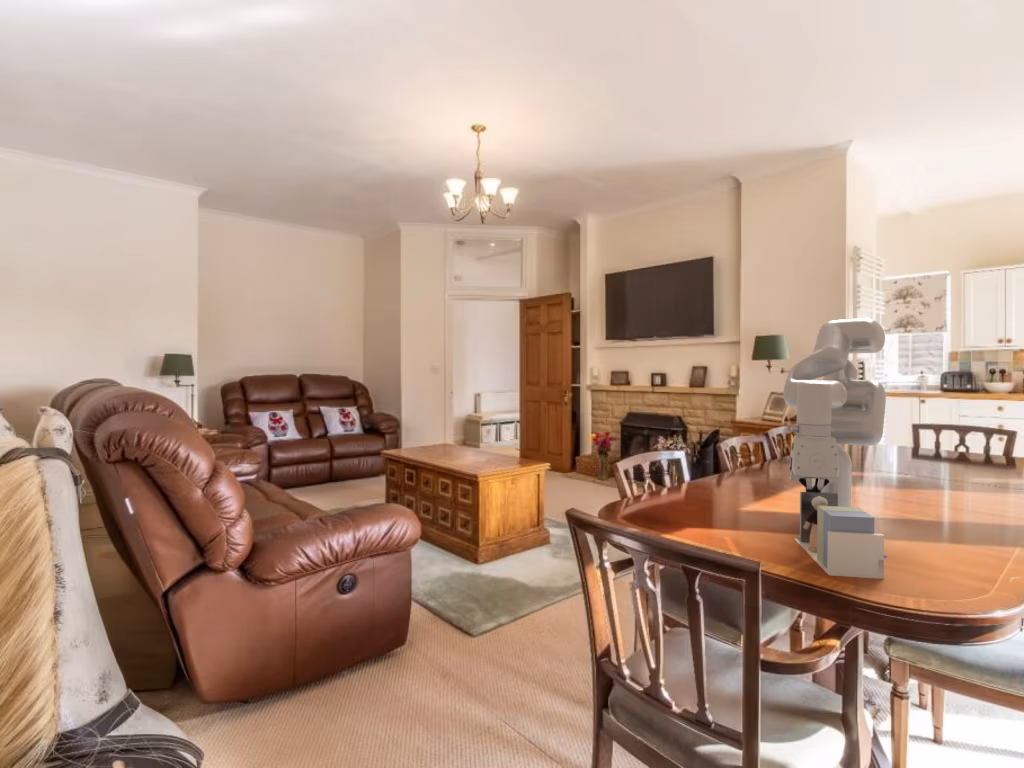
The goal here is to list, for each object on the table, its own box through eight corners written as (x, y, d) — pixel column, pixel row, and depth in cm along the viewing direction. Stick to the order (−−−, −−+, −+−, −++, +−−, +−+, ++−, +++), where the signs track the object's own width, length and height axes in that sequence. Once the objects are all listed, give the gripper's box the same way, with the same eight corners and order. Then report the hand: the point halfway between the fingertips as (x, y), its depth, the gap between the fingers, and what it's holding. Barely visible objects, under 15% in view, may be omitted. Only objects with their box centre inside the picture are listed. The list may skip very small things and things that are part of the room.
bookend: (797, 537, 134) (797, 489, 134) (832, 539, 133) (833, 491, 132) (801, 541, 131) (801, 492, 131) (837, 543, 130) (837, 494, 129)
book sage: (817, 559, 120) (817, 505, 120) (857, 561, 118) (857, 507, 118) (823, 565, 116) (823, 510, 116) (864, 568, 115) (865, 512, 114)
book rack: (794, 543, 134) (794, 503, 134) (838, 545, 132) (839, 505, 132) (829, 580, 111) (829, 532, 111) (883, 584, 109) (884, 535, 109)
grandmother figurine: (815, 555, 122) (815, 499, 122) (800, 550, 126) (800, 496, 126) (838, 550, 125) (839, 496, 125) (823, 545, 129) (824, 492, 129)
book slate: (823, 566, 116) (824, 510, 116) (865, 568, 114) (866, 512, 114) (830, 573, 112) (831, 515, 112) (873, 575, 110) (874, 517, 110)
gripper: (785, 432, 132) (784, 507, 132) (853, 433, 129) (852, 510, 129) (777, 429, 139) (776, 500, 140) (841, 430, 136) (840, 502, 136)
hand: (813, 504), depth 134 cm, fingers closed
